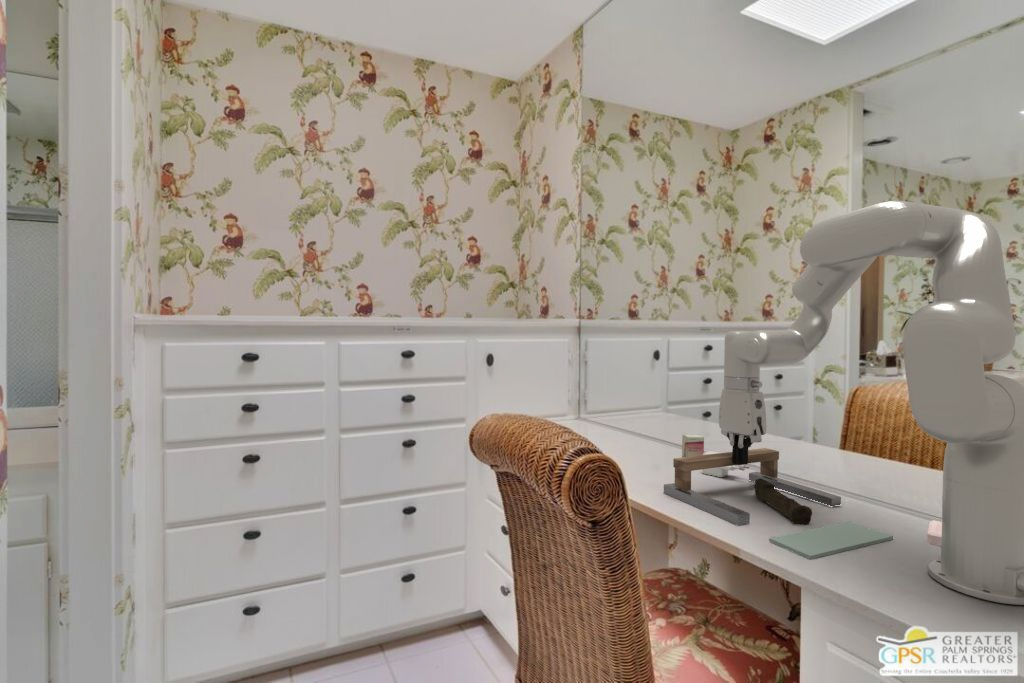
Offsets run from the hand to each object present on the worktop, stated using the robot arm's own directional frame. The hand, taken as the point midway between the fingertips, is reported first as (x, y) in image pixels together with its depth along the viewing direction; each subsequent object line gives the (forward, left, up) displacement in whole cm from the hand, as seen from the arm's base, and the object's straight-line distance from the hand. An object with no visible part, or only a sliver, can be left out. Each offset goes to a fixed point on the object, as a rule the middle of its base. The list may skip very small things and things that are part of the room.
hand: (740, 463), depth 120 cm
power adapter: (+13, -9, -8) cm, 18 cm away
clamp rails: (-3, 0, -7) cm, 8 cm away
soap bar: (-34, -15, -8) cm, 38 cm away
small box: (+28, -12, -8) cm, 32 cm away
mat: (-26, +5, -7) cm, 27 cm away
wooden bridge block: (+4, 0, -5) cm, 6 cm away
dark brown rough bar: (-9, 0, -8) cm, 12 cm away
